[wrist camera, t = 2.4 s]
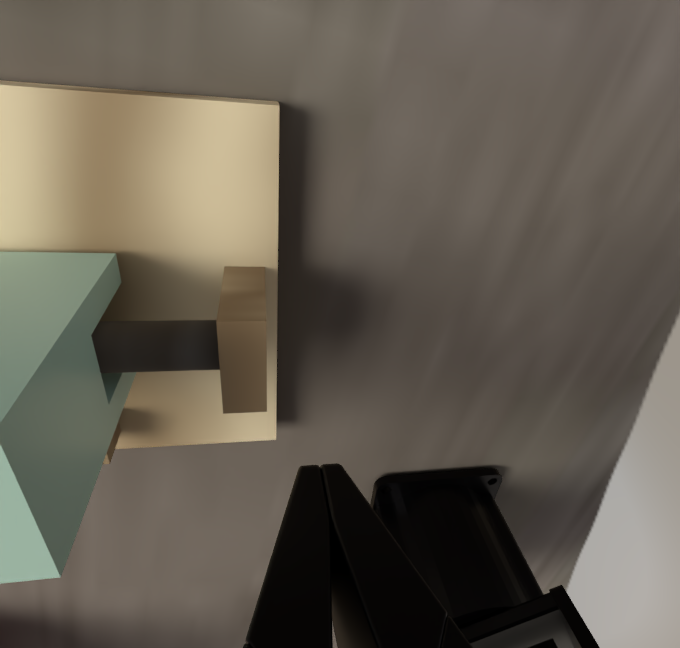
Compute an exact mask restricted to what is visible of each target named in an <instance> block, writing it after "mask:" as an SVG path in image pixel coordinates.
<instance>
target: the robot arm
mask: <svg viewBox="0 0 680 648" xmlns="http://www.w3.org/2000/svg"><path fill="white" fill-rule="evenodd" d="M501 482H502V477H501V475H500V473H499V472H498V470H497V469H494V468H490V469H477V470H463V471H450V472H437V473H424V474H411V475H398V476H385V477H381V478H379V479H378V480H377V481H376V482H375V484H374V488H373V494H372V499H371V504H369V503H368V502H367V500H366V499H365V497H364V496H363V495H362V493H361V492H360V490H359V489H358V488H357V486H356V485H355V483H354V482H353V481H352V479H351V478H350V477H349V475H348V474H347V472H346V471H345V470H344V468H343V467H342V466H341V465H340V464H323V465H321V466H320V467H319V466H318V465H307V466H301V467H300V468H299V469H298V472H297V475H296V479H295V482H294V485H293V488H292V492H291V495H290V498H289V501H288V504H287V508H286V511H285V514H284V517H283V521H282V524H281V527H280V530H279V534H278V537H277V540H276V543H275V546H274V550H273V553H272V556H271V559H270V563H269V566H268V569H267V572H266V575H265V579H264V582H263V585H262V588H261V592H260V595H259V598H258V601H257V604H256V608H255V611H254V614H253V617H252V621H251V624H250V627H249V630H248V634H247V637H246V644H244V646H243V648H332V621H333V627H334V632H335V637H336V642H337V647H338V648H599V646H598V644H597V643H596V641H595V639H594V638H593V636H592V634H591V633H590V631H589V629H588V628H587V626H586V624H585V623H584V621H583V619H582V618H581V616H580V614H579V613H578V611H577V609H576V608H575V606H574V604H573V603H572V601H571V599H570V598H569V596H568V594H567V593H566V591H565V589H564V588H563V586H562V585H560V586H557V587H555V588H552V589H550V590H549V591H550V593H547V594H543V592H542V591H541V589H540V587H539V585H538V583H537V581H536V579H535V577H534V575H533V573H532V571H531V569H530V568H529V566H528V564H527V562H526V560H525V558H524V556H523V554H522V552H521V550H520V548H519V546H518V545H517V543H516V541H515V539H514V537H513V535H512V533H511V531H510V529H509V527H508V525H507V523H506V522H505V520H504V518H503V516H502V514H501V512H500V510H499V508H498V506H497V504H496V502H495V500H494V499H495V496H496V494H497V491H498V489H499V487H500V484H501Z"/></svg>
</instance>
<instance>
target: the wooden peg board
mask: <svg viewBox="0 0 680 648" xmlns="http://www.w3.org/2000/svg"><path fill="white" fill-rule="evenodd" d="M278 198H279V103H278V101H265V100H252V99H239V98H226V97H213V96H200V95H187V94H173V93H160V92H147V91H134V90H121V89H108V88H95V87H81V86H68V85H55V84H42V83H29V82H16V81H3V80H0V252H60V253H116V256H117V262H118V267H119V272H120V277H121V284H120V286H119V288H118V289H117V291H116V293H115V295H114V296H113V298H112V300H111V302H110V303H109V305H108V307H107V309H106V310H105V312H104V314H103V315H102V317H101V319H100V321H99V322H98V324H97V326H96V328H95V329H94V331H93V333H92V335H91V337H92V341H93V345H94V349H95V353H96V356H97V360H98V364H99V368H100V372H101V373H126V372H136V375H135V378H134V380H133V383H132V386H131V388H130V391H129V394H128V397H127V399H126V402H125V405H124V407H123V410H122V413H121V415H120V418H119V421H118V424H117V426H116V429H115V432H114V434H113V437H112V440H111V443H110V445H109V448H108V451H107V453H106V456H105V459H104V461H103V464H110V462H111V459H112V456H113V453H114V450H115V449H125V448H142V447H159V446H176V445H193V444H210V443H228V442H245V441H262V440H276V399H277V299H278Z"/></svg>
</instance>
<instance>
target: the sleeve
mask: <svg viewBox="0 0 680 648" xmlns="http://www.w3.org/2000/svg"><path fill="white" fill-rule="evenodd" d="M120 284H121V277H120V272H119V267H118V262H117V256H116V253H60V252H0V584H1V583H11V582H21V581H30V580H40V579H49V578H59V577H61V575H62V572H63V570H64V567H65V564H66V561H67V559H68V556H69V553H70V551H71V548H72V545H73V543H74V540H75V537H76V534H77V532H78V529H79V526H80V524H81V521H82V518H83V516H84V513H85V510H86V507H87V505H88V502H89V499H90V497H91V494H92V491H93V488H94V486H95V483H96V480H97V478H98V475H99V472H100V470H101V467H102V464H103V461H104V459H105V456H106V453H107V451H108V448H109V445H110V443H111V440H112V437H113V434H114V432H115V429H116V426H117V424H118V421H119V418H120V415H121V413H122V410H123V407H124V405H125V402H126V399H127V397H128V394H129V391H130V388H131V386H132V383H133V380H134V378H135V375H136V372H126V373H101V372H100V368H99V364H98V360H97V356H96V353H95V349H94V345H93V341H92V337H91V335H92V333H93V331H94V329H95V328H96V326H97V324H98V322H99V321H100V319H101V317H102V315H103V314H104V312H105V310H106V309H107V307H108V305H109V303H110V302H111V300H112V298H113V296H114V295H115V293H116V291H117V289H118V288H119V286H120Z"/></svg>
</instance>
